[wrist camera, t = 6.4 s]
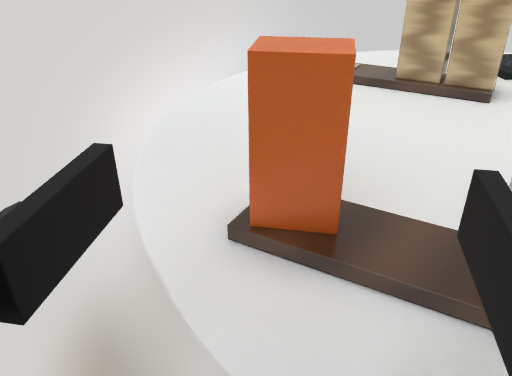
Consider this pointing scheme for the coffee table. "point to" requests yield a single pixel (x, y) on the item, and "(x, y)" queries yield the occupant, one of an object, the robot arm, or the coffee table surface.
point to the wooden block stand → (380, 257)
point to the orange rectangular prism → (298, 130)
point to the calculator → (506, 67)
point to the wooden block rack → (446, 49)
